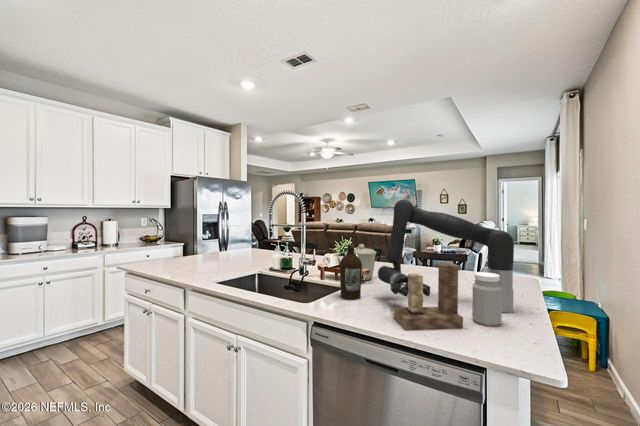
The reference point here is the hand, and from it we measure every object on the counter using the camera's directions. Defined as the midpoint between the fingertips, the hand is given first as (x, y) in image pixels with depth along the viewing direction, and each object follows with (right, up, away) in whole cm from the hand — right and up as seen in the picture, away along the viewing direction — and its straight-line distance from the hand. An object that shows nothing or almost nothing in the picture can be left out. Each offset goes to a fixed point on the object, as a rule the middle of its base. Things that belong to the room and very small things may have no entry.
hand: (417, 293), depth 112 cm
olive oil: (-21, -11, +36) cm, 43 cm away
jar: (+27, -12, +4) cm, 30 cm away
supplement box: (+53, -11, +46) cm, 71 cm away
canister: (-10, -11, +75) cm, 77 cm away
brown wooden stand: (+5, -11, +3) cm, 13 cm away
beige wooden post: (0, -11, +2) cm, 12 cm away
